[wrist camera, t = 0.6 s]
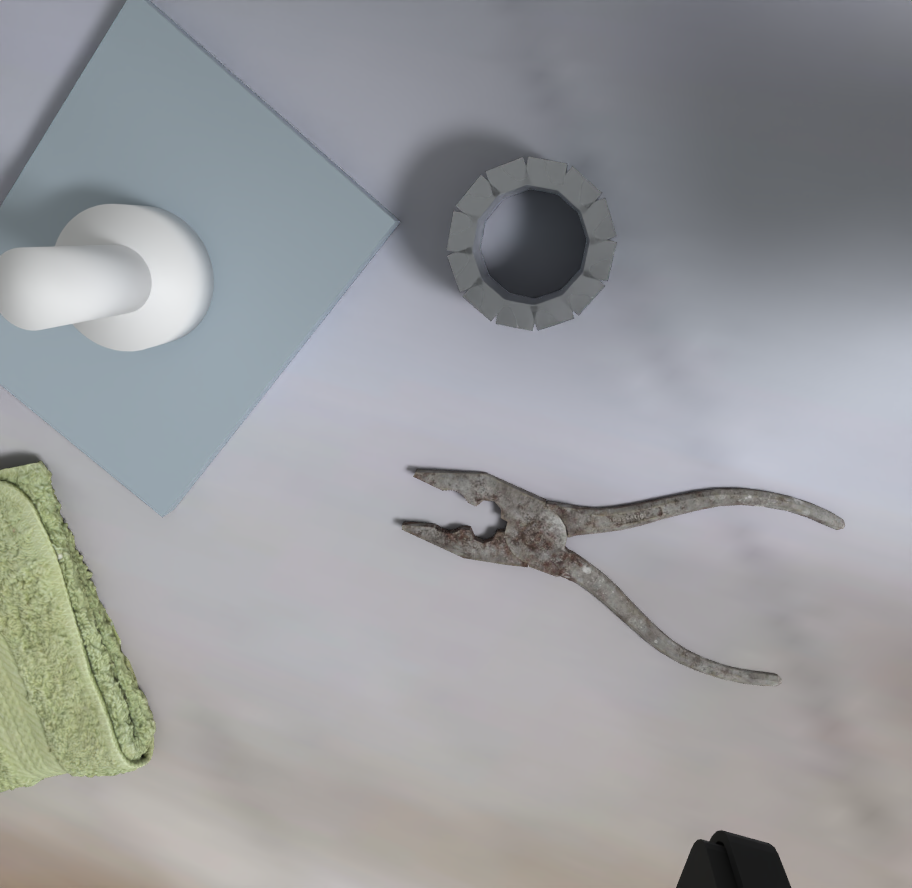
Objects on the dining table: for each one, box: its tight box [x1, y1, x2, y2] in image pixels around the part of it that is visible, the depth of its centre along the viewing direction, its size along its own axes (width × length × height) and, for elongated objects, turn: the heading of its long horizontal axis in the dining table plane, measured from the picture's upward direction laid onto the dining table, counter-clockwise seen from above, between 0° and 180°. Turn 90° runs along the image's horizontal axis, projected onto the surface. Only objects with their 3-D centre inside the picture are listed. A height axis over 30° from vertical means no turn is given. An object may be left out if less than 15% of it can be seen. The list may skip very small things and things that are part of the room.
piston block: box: [0, 0, 400, 517], centre depth 32 cm, size 18×14×10 cm
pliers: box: [402, 469, 845, 686], centre depth 38 cm, size 10×1×20 cm
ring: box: [447, 156, 617, 331], centre depth 33 cm, size 6×6×4 cm
